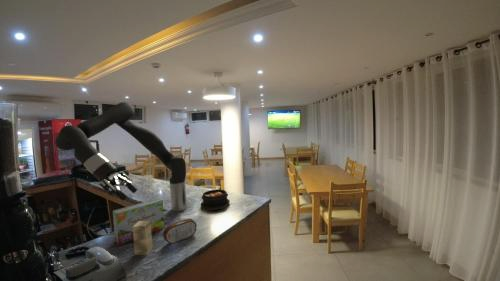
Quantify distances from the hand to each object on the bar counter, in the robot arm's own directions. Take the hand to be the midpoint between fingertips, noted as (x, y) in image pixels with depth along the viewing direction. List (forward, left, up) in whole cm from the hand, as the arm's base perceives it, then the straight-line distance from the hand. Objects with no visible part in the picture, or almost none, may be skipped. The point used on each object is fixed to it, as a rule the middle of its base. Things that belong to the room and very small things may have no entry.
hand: (130, 194), depth 89 cm
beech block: (+1, +3, -25) cm, 25 cm away
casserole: (-39, +40, -25) cm, 61 cm away
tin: (-3, +18, -25) cm, 31 cm away
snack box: (-16, 0, -25) cm, 30 cm away
